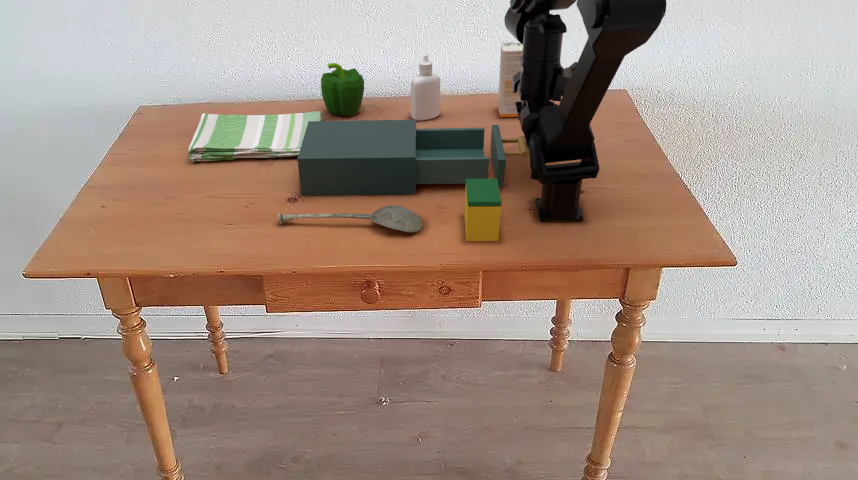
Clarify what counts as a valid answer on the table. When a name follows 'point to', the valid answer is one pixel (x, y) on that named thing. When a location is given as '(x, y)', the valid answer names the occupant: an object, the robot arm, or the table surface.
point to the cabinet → (358, 158)
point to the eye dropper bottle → (425, 92)
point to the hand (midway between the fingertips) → (532, 150)
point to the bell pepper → (342, 90)
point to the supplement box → (509, 78)
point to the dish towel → (249, 136)
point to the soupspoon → (374, 218)
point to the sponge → (482, 210)
